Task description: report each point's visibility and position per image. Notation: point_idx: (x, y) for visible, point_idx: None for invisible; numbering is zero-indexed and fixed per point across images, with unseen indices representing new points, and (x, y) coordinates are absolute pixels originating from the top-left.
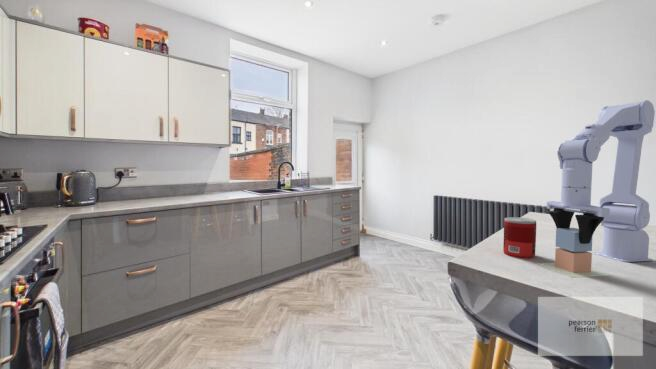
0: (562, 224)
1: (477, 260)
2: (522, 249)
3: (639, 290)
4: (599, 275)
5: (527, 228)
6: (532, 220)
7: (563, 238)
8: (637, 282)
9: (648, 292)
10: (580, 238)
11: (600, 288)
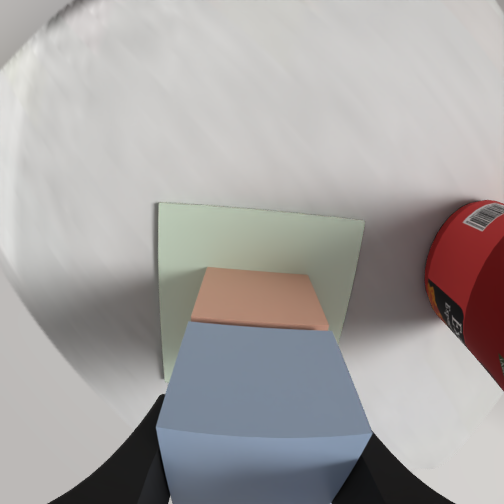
0: (360, 499)
1: (460, 14)
2: (466, 239)
3: (53, 321)
4: (164, 339)
5: None
6: None
7: (277, 378)
8: (112, 386)
9: (43, 327)
10: (158, 415)
11: (64, 212)
